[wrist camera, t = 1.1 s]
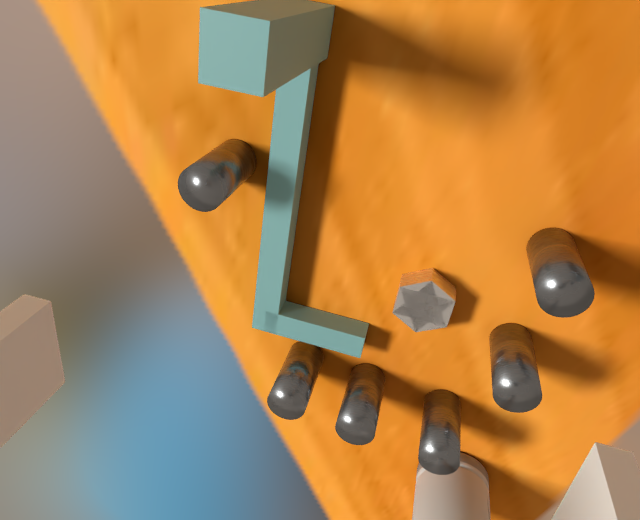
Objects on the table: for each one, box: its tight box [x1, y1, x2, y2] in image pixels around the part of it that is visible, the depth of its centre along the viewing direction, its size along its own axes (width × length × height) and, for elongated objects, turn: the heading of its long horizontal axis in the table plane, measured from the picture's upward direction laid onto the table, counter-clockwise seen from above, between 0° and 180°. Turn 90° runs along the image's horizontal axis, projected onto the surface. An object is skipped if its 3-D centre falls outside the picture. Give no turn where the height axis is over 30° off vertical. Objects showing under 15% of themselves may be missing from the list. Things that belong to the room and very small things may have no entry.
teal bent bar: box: [198, 0, 369, 358], centre depth 31 cm, size 24×10×12 cm, turn 171°
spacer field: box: [178, 139, 594, 475], centre depth 37 cm, size 26×20×6 cm
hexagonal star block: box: [393, 268, 456, 332], centre depth 38 cm, size 4×5×2 cm
